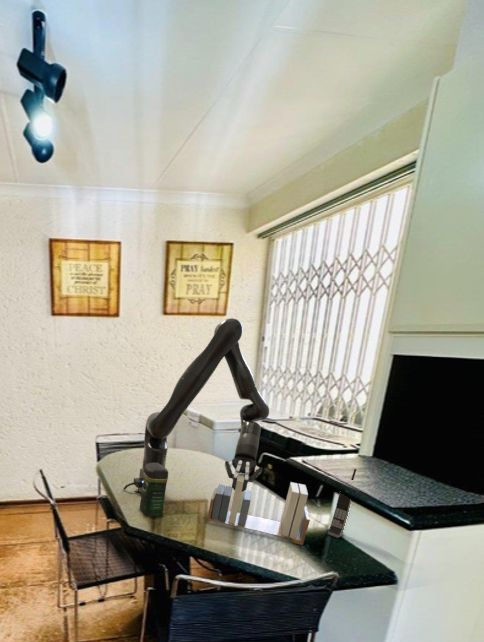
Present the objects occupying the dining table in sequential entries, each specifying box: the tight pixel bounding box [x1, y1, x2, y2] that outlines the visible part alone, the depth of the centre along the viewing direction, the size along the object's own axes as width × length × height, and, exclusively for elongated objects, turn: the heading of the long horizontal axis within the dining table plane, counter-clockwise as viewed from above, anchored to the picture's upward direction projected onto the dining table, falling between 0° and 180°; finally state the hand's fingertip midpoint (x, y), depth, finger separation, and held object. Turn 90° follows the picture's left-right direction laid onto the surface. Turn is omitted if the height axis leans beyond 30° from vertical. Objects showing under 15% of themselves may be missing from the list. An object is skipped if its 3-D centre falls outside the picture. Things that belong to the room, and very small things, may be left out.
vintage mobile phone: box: [327, 468, 357, 539], centre depth 135 cm, size 4×5×25 cm
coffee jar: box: [139, 463, 169, 518], centre depth 141 cm, size 10×8×19 cm
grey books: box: [211, 483, 253, 526], centre depth 141 cm, size 12×10×10 cm
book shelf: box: [206, 487, 311, 546], centre depth 139 cm, size 32×12×10 cm, turn 69°
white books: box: [279, 481, 309, 538], centre depth 134 cm, size 5×10×16 cm, turn 159°
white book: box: [228, 473, 245, 524], centre depth 139 cm, size 2×10×16 cm, turn 160°
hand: (238, 489), depth 136 cm, fingers closed on white book, 2 cm apart
